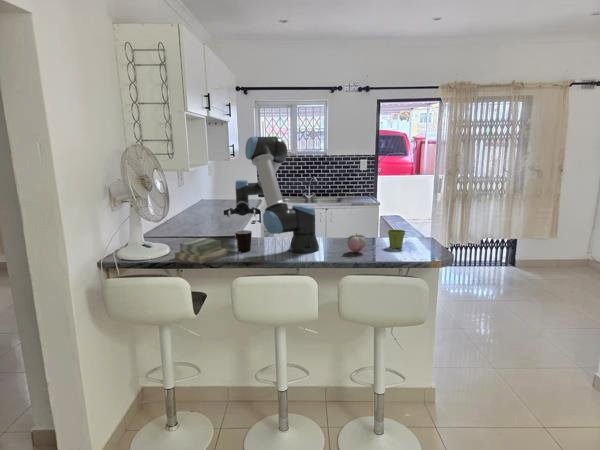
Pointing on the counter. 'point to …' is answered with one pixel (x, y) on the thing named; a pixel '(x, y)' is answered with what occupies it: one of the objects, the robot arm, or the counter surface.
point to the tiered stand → (200, 250)
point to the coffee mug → (243, 240)
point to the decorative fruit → (356, 243)
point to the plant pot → (396, 238)
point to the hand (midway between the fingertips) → (242, 214)
